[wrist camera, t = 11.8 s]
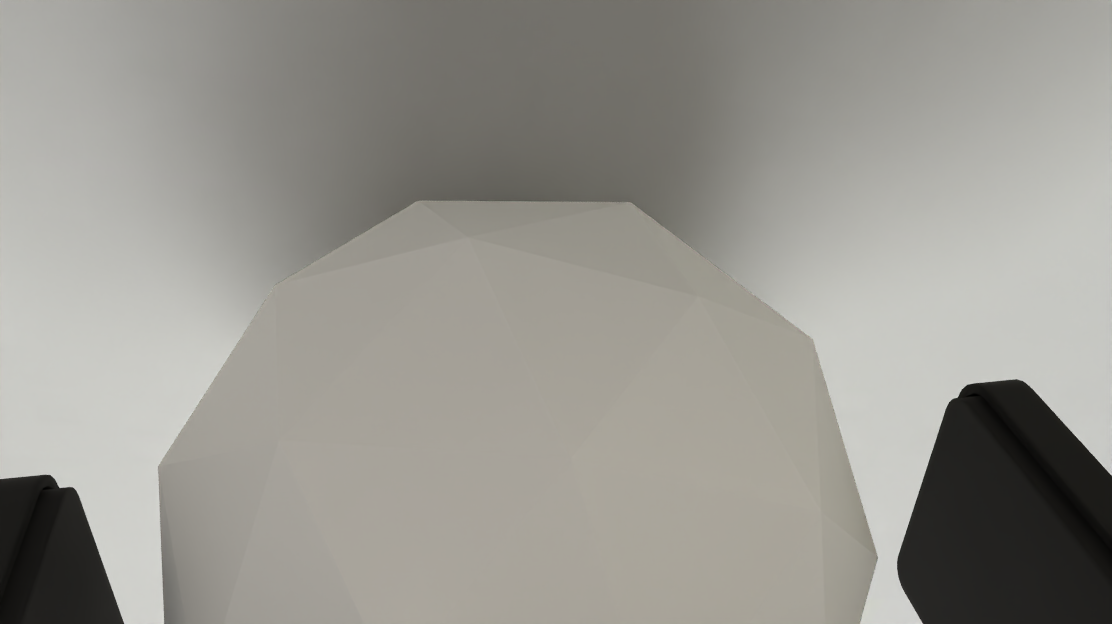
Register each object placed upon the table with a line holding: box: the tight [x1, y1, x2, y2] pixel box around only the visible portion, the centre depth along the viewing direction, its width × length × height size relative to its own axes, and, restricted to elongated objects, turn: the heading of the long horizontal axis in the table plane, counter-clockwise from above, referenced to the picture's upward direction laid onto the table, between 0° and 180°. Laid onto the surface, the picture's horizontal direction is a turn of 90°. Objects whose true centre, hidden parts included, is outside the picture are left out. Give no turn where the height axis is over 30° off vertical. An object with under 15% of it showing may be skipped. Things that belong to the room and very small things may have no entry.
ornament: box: [158, 201, 878, 624], centre depth 10 cm, size 7×7×8 cm
